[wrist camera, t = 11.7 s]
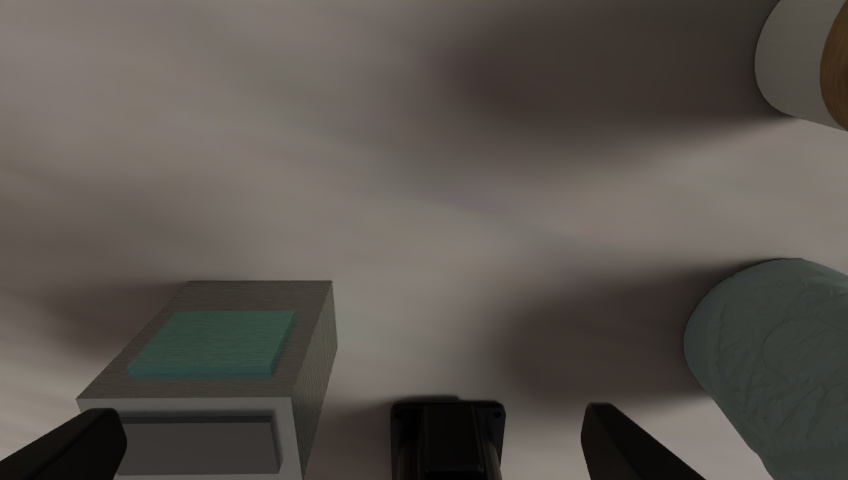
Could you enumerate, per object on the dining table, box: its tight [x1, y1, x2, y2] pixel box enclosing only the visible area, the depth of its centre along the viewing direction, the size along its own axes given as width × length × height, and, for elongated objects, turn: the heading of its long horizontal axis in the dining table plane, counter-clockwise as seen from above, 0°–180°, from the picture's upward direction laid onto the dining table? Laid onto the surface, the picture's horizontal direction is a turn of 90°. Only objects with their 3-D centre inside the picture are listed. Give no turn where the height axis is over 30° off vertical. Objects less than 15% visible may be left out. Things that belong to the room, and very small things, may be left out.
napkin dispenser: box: [76, 281, 337, 480], centre depth 19 cm, size 4×7×8 cm, turn 89°
